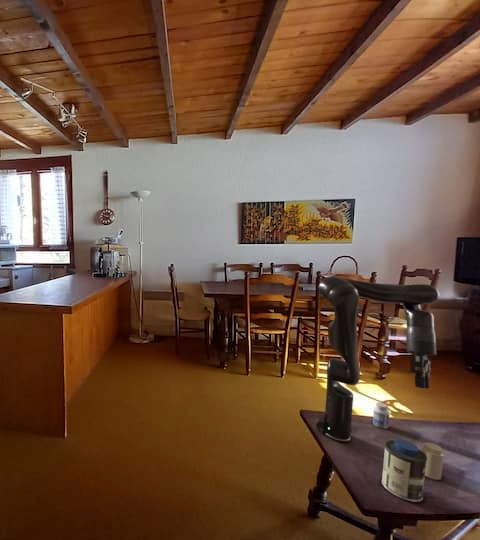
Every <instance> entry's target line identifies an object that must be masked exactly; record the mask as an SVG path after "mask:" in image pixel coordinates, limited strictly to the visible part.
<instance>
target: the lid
mask: <svg viewBox="0 0 480 540" xmlns="http://www.w3.org/2000/svg"><path fill="white" fill-rule="evenodd" d="M394 440H395V441H394V448H395V449H396V450H398V451H399V452H401V453H403V454H406V455H409V456H417V455H418V449H419V447H418V446H417V445H415V444H414V443H413V442H410V441H408V440H405V439H400V438H396V439H394Z"/></svg>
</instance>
